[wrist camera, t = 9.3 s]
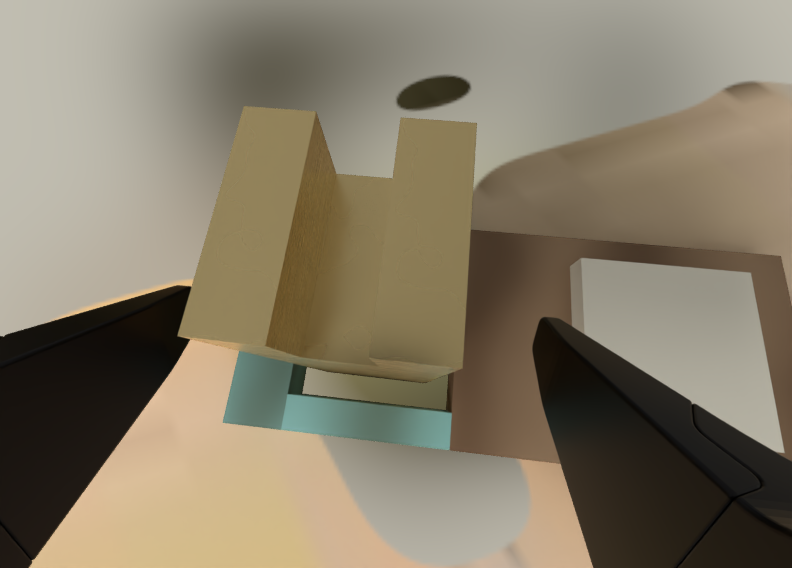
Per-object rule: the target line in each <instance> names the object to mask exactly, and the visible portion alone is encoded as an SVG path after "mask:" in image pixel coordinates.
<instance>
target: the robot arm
mask: <svg viewBox="0 0 792 568" xmlns="http://www.w3.org/2000/svg"><path fill="white" fill-rule="evenodd" d="M190 291H191V286H181V285H176V286H173V287H169V288H166V289H162V290H159V291H155V292H152V293H148V294H145V295H141V296H138V297H134V298H131V299H128V300H124V301H121V302H117V303H114V304H110V305H107V306H103V307H100V308H96V309H93V310H89V311H86V312H83V313H79V314H76V315H72V316H69V317H65V318H62V319H58V320H55V321H51V322H48V323H45V324H41V325H38V326H34V327H31V328H28V329H24V330H21V331H17V332H14V333H10V334H7V335H5V336H4V337H3V336H0V568H29V567H30V565H31V564H32V560H34V559H35V558H36V556H37V555H38V554H39V552H40V551H41V550H42V548H43V547H44V546H45V544H46V543H47V541H48V540H49V539H50V537H51V536H52V535H53V533H54V532H55V530H56V529H57V528H58V526H59V525H60V524H61V522H62V521H63V519H64V518H65V517H66V515H67V514H68V513H69V511H70V510H71V508H72V507H73V506H74V504H75V503H76V502H77V500H78V499H79V497H80V496H81V495H82V493H83V492H84V491H85V489H86V488H87V486H88V485H89V484H90V482H91V481H92V480H93V478H94V477H95V475H96V474H97V473H98V471H99V470H100V469H101V467H102V466H103V464H104V463H105V462H106V460H107V459H108V458H109V456H110V455H111V454H112V452H113V451H114V449H115V448H116V447H117V445H118V444H119V443H120V441H121V440H122V438H123V437H124V436H125V434H126V433H127V432H128V430H129V429H130V427H131V426H132V425H133V423H134V422H135V421H136V419H137V418H138V416H139V415H140V414H141V412H142V411H143V410H144V408H145V407H146V405H147V404H148V403H149V401H150V400H151V399H152V397H153V396H154V394H155V393H156V392H157V390H158V389H159V388H160V386H161V385H162V383H163V382H164V381H165V379H166V378H167V377H168V375H169V374H170V372H171V371H172V369H173V368H174V366H175V365H176V363H177V361H178V360H179V358H180V356H181V355H182V353H183V351H184V349H185V348H186V346H187V344H188V343H189V341H190V339H187V338H183V337H179V336H178V332H179V329H180V325H181V322H182V318H183V315H184V312H185V308H186V305H187V301H188V298H189V294H190ZM532 353H533V358H534V364H535V369H536V374H537V380H538V385H539V391H540V396H541V401H542V405H543V409H544V412H545V416H546V419H547V422H548V425H549V428H550V432H551V435H552V438H553V441H554V444H555V447H556V451H557V454H558V457H559V460H560V463H561V466H562V470H563V473H564V476H565V479H566V482H567V486H568V489H569V492H570V495H571V498H572V501H573V505H574V508H575V511H576V514H577V517H578V520H579V524H580V527H581V530H582V533H583V536H584V539H585V543H586V546H587V549H588V552H589V555H590V558H591V562H592V565H593V568H792V461H791V460H789V459H787V458H786V457H784V456H782V455H780V454H779V453H777V452H775V451H773V450H772V449H770V448H768V447H767V446H765V445H763V444H761V443H760V442H758V441H756V440H754V439H753V438H751V437H749V436H748V435H746V434H744V433H742V432H741V431H739V430H738V429H736V428H734V427H733V426H731V425H729V424H728V423H726V422H724V421H723V420H721V419H719V418H718V417H716V416H715V415H713V414H711V413H710V412H708V411H707V410H705V409H703V408H702V407H700V406H699V405H697V404H695V403H694V404H692V402H691V401H690V400H689V399H687V398H686V397H684V396H683V395H681V394H679V393H678V392H676V391H675V390H673V389H671V388H670V387H668V386H667V385H665V384H663V383H662V382H660V381H659V380H657V379H655V378H654V377H652V376H651V375H649V374H647V373H646V372H644V371H643V370H641V369H639V368H638V367H636V366H635V365H633V364H631V363H630V362H628V361H627V360H625V359H623V358H622V357H620V356H619V355H617V354H615V353H614V352H612V351H611V350H609V349H607V348H606V347H604V346H603V345H601V344H600V343H598V342H596V341H595V340H593V339H592V338H590V337H588V336H587V335H585V334H584V333H582V332H580V331H579V330H577V329H576V328H574V327H572V326H571V325H569V324H568V323H566V322H564V321H563V320H561V319H559V318H554V317H542V318H541V319H540V321H539V323H538V327H537V330H536V334H535V337H534V341H533V345H532Z"/></svg>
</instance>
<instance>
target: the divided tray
mask: <svg viewBox="0 0 792 568" xmlns="http://www.w3.org/2000/svg"><path fill="white" fill-rule="evenodd" d="M542 317H554V318H559V319H561V320H563V321H564V322H566V323H568V324H569V325H571V326H572V327H574V328H576V329H577V330H579V331H580V332H582V333H584V334H585V335H587V336H588V337H590V338H592V339H593V340H595V341H596V342H598V343H600V344H601V345H603V346H604V347H606V348H607V349H609V350H611V351H612V352H614V353H615V354H617V355H619V356H620V357H622V358H623V359H625V360H627V361H628V362H630V363H631V364H633V365H635V366H636V367H638V368H639V369H641V370H643V371H644V372H646V373H647V374H649V375H651V376H652V377H654V378H655V379H657V380H659V381H660V382H662V383H663V384H665V385H667V386H668V387H670V388H671V389H673V390H675V391H676V392H678V393H679V394H681V395H683V396H684V397H686V398H687V399H689V400H690V401H691V402H692V404H694V403H695V404H697V405H699V406H700V407H702V408H703V409H705V410H707V411H708V412H710V413H711V414H713V415H715V416H716V417H718V418H719V419H721V420H723V421H724V422H726V423H728V424H729V425H731V426H733V427H734V428H736V429H738V430H739V431H741V432H742V433H744V434H746V435H748V436H749V437H751V438H753V439H754V440H756V441H758V442H760V443H761V444H763V445H765V446H767V447H768V448H770V449H772V450H773V451H775V452H777V453H779V454H780V455H782V456H784V457H786V458H787V459H789V460H791V461H792V306H791V301H790V297H789V292H788V287H787V283H786V278H785V273H784V269H783V264H782V260H781V256H773V255H761V254H750V253H738V252H726V251H714V250H702V249H691V248H679V247H667V246H655V245H644V244H632V243H620V242H608V241H596V240H585V239H573V238H561V237H549V236H538V235H526V234H514V233H502V232H490V231H479V230H471V233H470V250H469V267H468V284H467V301H466V318H465V336H464V353H463V369H460V370H458V371H455V372H453V373H450V374H448V389H447V405H446V410H439V409H430V408H422V407H413V406H405V405H396V404H387V403H379V402H370V401H361V400H352V399H343V398H335V397H326V396H318V395H309V394H302V391H303V386H304V380H305V374H306V368H307V367H306V366H301V365H297V364H293V363H289V362H284V361H280V360H276V359H272V358H267V357H263V356H259V355H255V354H251V353H246V352H242V351H239V354H238V358H237V363H236V367H235V371H234V376H233V380H232V384H231V389H230V393H229V397H228V402H227V406H226V410H225V415H224V419H223V423H230V424H238V425H246V426H254V427H262V428H271V429H279V430H287V431H295V432H304V433H312V434H320V435H329V436H337V437H345V438H353V439H361V440H369V441H378V442H386V443H394V444H402V445H411V446H419V447H427V448H435V449H444V450H452V451H460V452H468V453H476V454H484V455H493V456H501V457H510V458H517V459H526V460H534V461H542V462H550V463H558V464H561V463H560V460H559V457H558V454H557V451H556V447H555V444H554V441H553V438H552V435H551V432H550V428H549V425H548V422H547V419H546V416H545V412H544V409H543V405H542V401H541V396H540V391H539V385H538V380H537V374H536V369H535V364H534V358H533V353H532V345H533V341H534V337H535V334H536V330H537V327H538V323H539V321H540V319H541V318H542Z"/></svg>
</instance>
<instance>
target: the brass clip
mask: <svg viewBox="0 0 792 568" xmlns="http://www.w3.org/2000/svg"><path fill="white" fill-rule="evenodd" d="M476 128H477V123H468V122H455V121H441V120H427V119H413V118H401V120H400V127H399V136H398V142H397V150H396V158H395V165H394V172H393V179H392V178H380V177H368V176H356V175H344V174H336V172H335V168H334V165H333V162H332V159H331V156H330V153H329V150H328V147H327V144H326V140H325V138H324V134H323V131H322V128H321V125H320V122H319V119H318V116H317V113H316V111H302V110H288V109H276V108H260V107H247V106H244V108H243V111H242V115H241V118H240V122H239V125H238V129H237V132H236V136H235V139H234V142H233V146H232V149H231V153H230V157H229V160H228V163H227V167H226V170H225V174H224V177H223V181H222V184H221V187H220V191H219V194H218V198H217V201H216V205H215V208H214V212H213V215H212V219H211V222H210V226H209V229H208V232H207V236H206V239H205V243H204V246H203V249H202V253H201V256H200V260H199V263H198V267H197V270H196V274H195V277H194V280H193V284H192V287H191V291H190V294H189V298H188V301H187V305H186V308H185V312H184V315H183V318H182V322H181V325H180V329H179V332H178V336H179V337H183V338H187V339H191V340H196V341H200V342H204V343H208V344H213V345H217V346H221V347H225V348H229V349H234V350H238V351H242V352H246V353H251V354H255V355H259V356H263V357H267V358H272V359H276V360H280V361H284V362H289V363H293V364H297V365H301V366H306V367H310V368H315V369H318V370H323V371H327V372H334V373H343V374H352V375H360V376H368V377H376V378H385V379H394V380H403V381H411V382H419V383H427V382H429V381H432V380H434V379H437V378H440V377H442V376H445V375H447V374H450V373H453V372H455V371H458V370H460V369H463V353H464V336H465V318H466V301H467V284H468V267H469V250H470V233H471V215H472V198H473V180H474V164H475V147H476Z"/></svg>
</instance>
